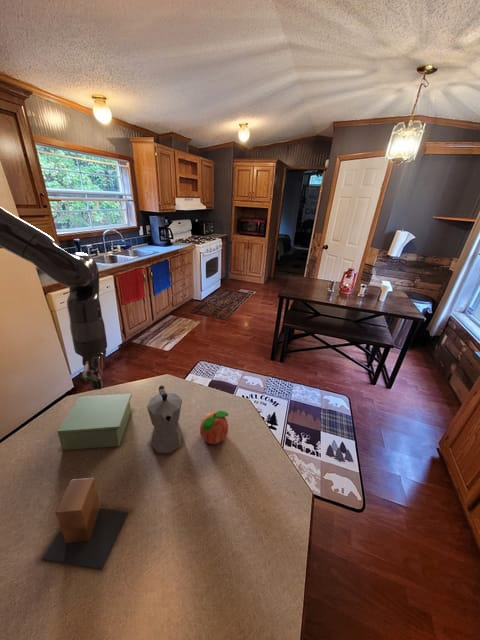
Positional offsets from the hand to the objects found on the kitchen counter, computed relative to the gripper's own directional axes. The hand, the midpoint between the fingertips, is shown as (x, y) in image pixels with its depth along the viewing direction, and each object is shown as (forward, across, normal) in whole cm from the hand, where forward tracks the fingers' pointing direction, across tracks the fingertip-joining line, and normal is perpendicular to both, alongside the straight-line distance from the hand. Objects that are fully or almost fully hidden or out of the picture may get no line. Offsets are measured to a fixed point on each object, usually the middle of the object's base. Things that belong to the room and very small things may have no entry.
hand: (98, 387), depth 72 cm
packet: (+15, +27, +4) cm, 31 cm away
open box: (+16, 0, -1) cm, 16 cm away
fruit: (+16, +6, +33) cm, 37 cm away
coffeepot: (+16, +5, +19) cm, 26 cm away
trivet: (+16, +29, +6) cm, 33 cm away
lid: (+9, 0, -1) cm, 9 cm away
